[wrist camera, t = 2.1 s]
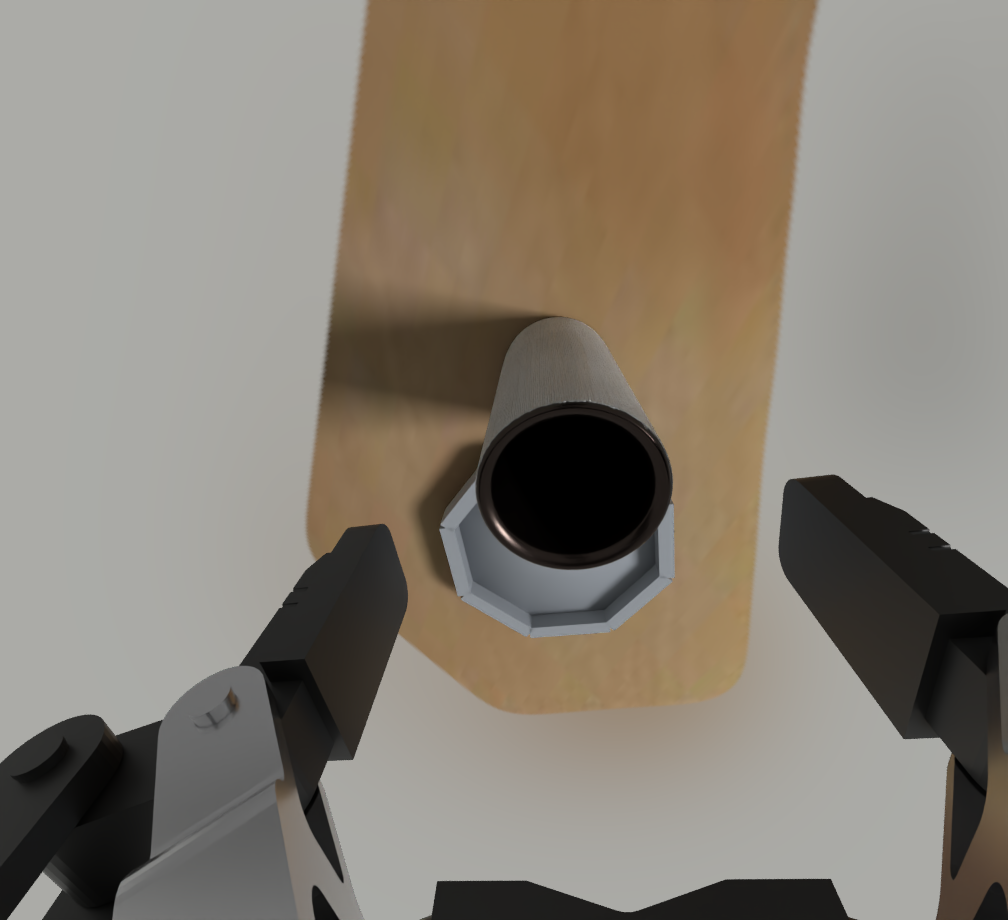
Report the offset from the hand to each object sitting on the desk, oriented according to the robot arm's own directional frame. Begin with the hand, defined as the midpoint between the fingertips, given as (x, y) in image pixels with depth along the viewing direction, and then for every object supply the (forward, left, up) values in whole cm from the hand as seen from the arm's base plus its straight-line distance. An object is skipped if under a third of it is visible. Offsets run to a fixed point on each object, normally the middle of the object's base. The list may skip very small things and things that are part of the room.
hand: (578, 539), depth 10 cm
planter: (0, 0, -12) cm, 12 cm away
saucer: (+8, -1, -12) cm, 14 cm away
